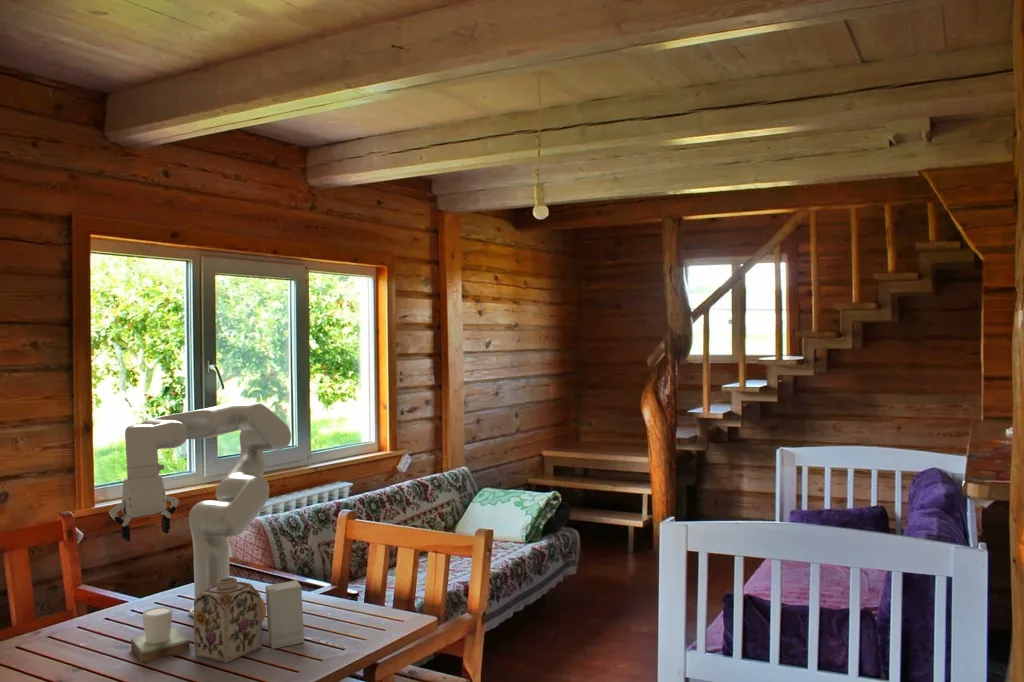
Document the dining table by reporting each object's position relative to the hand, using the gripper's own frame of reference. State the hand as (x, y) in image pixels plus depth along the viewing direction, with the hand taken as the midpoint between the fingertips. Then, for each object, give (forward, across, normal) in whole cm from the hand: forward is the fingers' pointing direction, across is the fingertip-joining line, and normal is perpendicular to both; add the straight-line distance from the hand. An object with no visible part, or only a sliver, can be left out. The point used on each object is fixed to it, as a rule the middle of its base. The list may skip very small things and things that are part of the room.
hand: (146, 536), depth 215 cm
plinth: (+26, +2, +13) cm, 29 cm away
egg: (+27, -22, +13) cm, 37 cm away
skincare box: (+27, -23, +30) cm, 47 cm away
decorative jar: (+27, -10, +26) cm, 38 cm away
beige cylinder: (+23, +2, +13) cm, 27 cm away
